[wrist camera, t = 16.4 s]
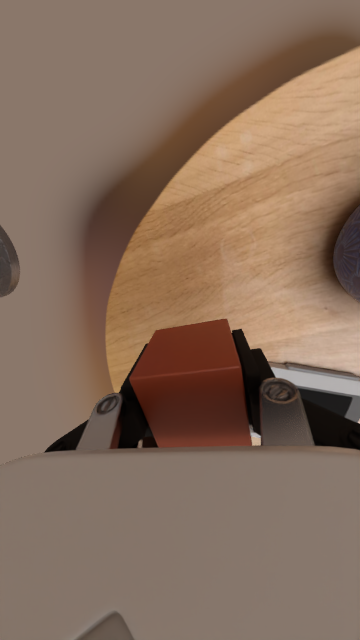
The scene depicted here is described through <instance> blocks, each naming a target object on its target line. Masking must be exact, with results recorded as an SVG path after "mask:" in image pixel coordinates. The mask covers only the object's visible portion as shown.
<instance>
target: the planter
mask: <svg viewBox="0 0 360 640" xmlns="http://www.w3.org/2000/svg"><path fill="white" fill-rule="evenodd" d="M333 262H334V269H335V273H336V276H337V278H338V280H339V282H340V283H341V285H342V287H343V288H344V289H345V290H346V291H347V292H348V293H349V294H350V295H351V296H352V297H353V298H354V299H356V300H357V301H359V302H360V205H359V206H358V207H357V208H356V210H355V211H354V212H353V213H352V214H351V216H350V217H349V218H348V220H347V221H346V223H345V224H344V226H343V228H342V230H341V232H340V234H339V236H338V239H337V242H336V245H335V249H334V256H333Z"/></svg>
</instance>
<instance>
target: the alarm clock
mask: <svg viewBox="0 0 360 640" xmlns="http://www.w3.org/2000/svg"><path fill="white" fill-rule="evenodd" d="M268 363H269V365H270V367H271V369H272V371H273V373H274V375H275V376H276V378H283V379H286V380H288V381H290V382H292V383H293V384H294V385H295V386H297V388H298V390H299V392H300V395H301V398H303V399H305V400H307V401H310V402H312V403H314V404H316V405H319V406H321V407H323V408H325V409H328V410H330V411H332V412H334V413H336V414H339V415H341V416H343V417H345V418H348V419H350V420H352V421H354V422H358V421H359V419H360V377H358V376H356V375H354V374H351V373H345V372H339V371H332V370H326V369H320V368H314V367H307V366H301V365H295V364H289V363H287V364H285V365H283V364H277V363H271V362H268ZM249 426H250V433H251V436H252V437H257V438H261V436H260V435H258V434H257V433H254V432H253V428H252V425H249Z"/></svg>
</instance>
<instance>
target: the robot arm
mask: <svg viewBox="0 0 360 640" xmlns="http://www.w3.org/2000/svg"><path fill="white" fill-rule="evenodd" d="M231 334H232V337H233V340H234V344H235V347H236V351H237V354H238V357H239V361H240V364H241V369H242V376H243V383H244V390H245V397H246V405H247V412H248V419H249V425H252V428H253V432H254V433H257V434H258V435H260V436H261V446H208V447H164V448H142V444H143V442H142V439H143V438H144V437H153V433H152V431H151V429H150V426H149V424H148V422H147V420H146V417H145V415H144V413H143V410H142V408H141V406H140V403H139V401H138V399H137V396H136V394H135V392H134V390H133V387H132V385H131V383H130V380H129V378H130V376H131V374H132V372H133V371H134V369H135V367H136V365H137V363H138V362H139V360H140V358H141V356H142V354H143V352H144V351H145V349H146V347H147V345H148V343H147V344H146V345H145V346H144V348H143V350H142V352H141V353H140V355H139V357H138V359H137V360H136V362H135V364H134V366H133V367H132V369H131V371H130V373H129V374H128V376H127V378H126V379H125V381H124V383H123V385H122V386H121V390H120V392H119V393H112V394H109V395H107V396H105V397H103V398H102V399H101V400H100V401H99V402H98V403H97V404H96V405H95V407H94V409H93V411H92V414H91V416H90V418H89V420H87V421H85V422H84V423H83V424H81V425H79V426H78V427H77V428H75V429H73V430H72V431H70V432H69V433H68V434H66V435H64V436H63V437H61V438H60V439H58V440H57V441H56V442H54V443H53V444H52V445H51V446H50V447H48V448H47V450H46V451H45V452H44V453H39V454H33V455H28V456H25V457H21V458H18V459H15V460H12V461H10V462H7V463H5V464H3V465H0V640H360V424H359V423H357V422H354V421H352V420H350V419H348V418H345V417H343V416H341V415H339V414H336V413H334V412H332V411H330V410H328V409H325V408H323V407H321V406H319V405H316V404H314V403H312V402H310V401H307V400H305V399H303V398H301V395H300V392H299V390H298V388H297V386H295V385H294V384H293V383H292V382H290V381H288V380H286V379H283V378H276V376H275V375H274V373H273V371H272V369H271V367H270V365H269V363H268V361H267V359H266V357H265V356H264V354H263V352H262V350H261V349H260V348H258V349H251V350H250V348H249V345H248V343H247V341H246V338H245V336H244V333H243V331H242V329H238V330H232V333H231Z"/></svg>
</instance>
